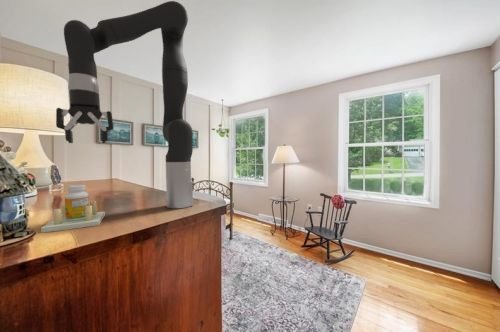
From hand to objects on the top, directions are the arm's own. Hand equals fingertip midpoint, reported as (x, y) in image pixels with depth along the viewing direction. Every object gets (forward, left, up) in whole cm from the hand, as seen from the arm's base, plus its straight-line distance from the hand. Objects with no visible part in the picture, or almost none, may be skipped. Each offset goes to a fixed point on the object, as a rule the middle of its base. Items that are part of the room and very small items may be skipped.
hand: (87, 143), depth 67 cm
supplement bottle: (+2, +7, -23) cm, 24 cm away
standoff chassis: (+2, +7, -24) cm, 25 cm away
